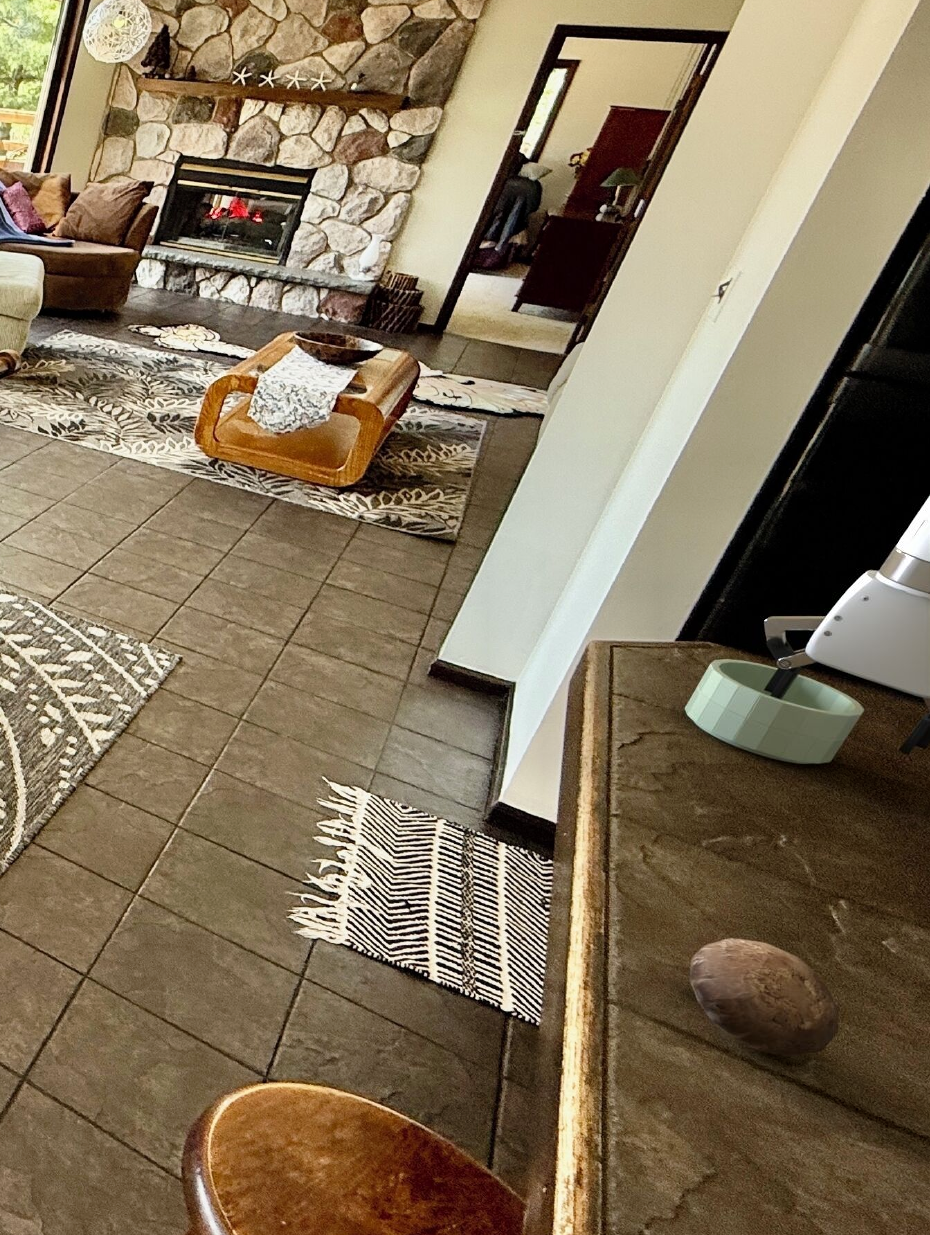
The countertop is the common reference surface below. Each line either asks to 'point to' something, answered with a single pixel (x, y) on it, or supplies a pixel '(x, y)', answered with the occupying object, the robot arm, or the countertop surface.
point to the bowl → (772, 713)
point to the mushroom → (764, 997)
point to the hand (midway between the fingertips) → (837, 724)
